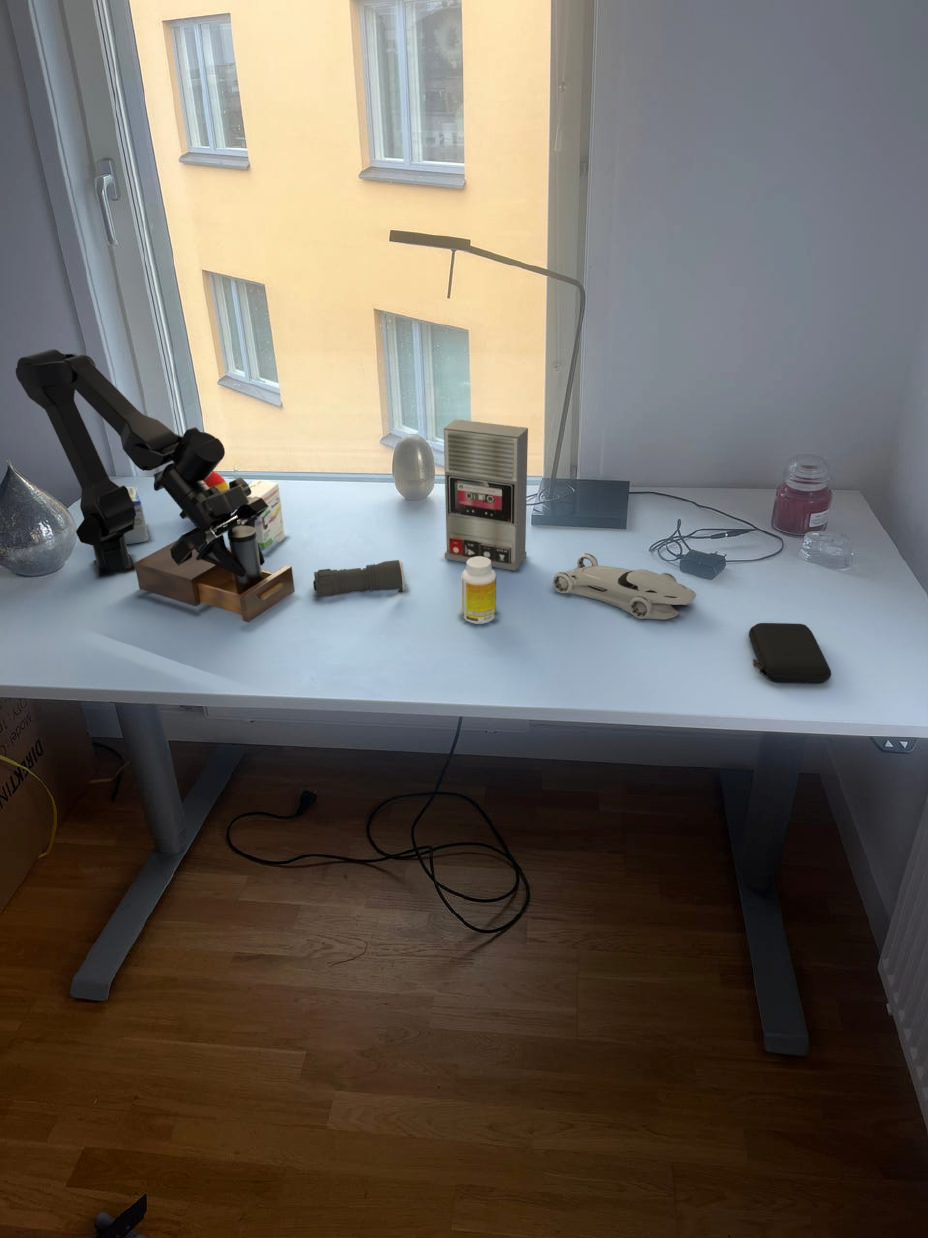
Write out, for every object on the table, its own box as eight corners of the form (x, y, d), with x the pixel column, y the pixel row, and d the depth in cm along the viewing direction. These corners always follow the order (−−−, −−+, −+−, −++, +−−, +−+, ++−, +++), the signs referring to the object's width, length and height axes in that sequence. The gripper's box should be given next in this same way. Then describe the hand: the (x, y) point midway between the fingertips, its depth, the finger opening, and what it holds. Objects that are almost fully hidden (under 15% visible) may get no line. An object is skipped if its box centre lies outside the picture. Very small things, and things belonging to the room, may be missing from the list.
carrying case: (738, 634, 148) (757, 687, 135) (741, 617, 147) (760, 669, 134) (807, 636, 147) (832, 689, 135) (810, 619, 146) (836, 671, 133)
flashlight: (316, 606, 158) (313, 578, 155) (313, 591, 163) (310, 564, 160) (405, 596, 161) (404, 568, 158) (401, 581, 165) (399, 554, 163)
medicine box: (121, 529, 186) (112, 489, 182) (144, 525, 188) (136, 485, 183) (125, 545, 180) (116, 503, 176) (149, 541, 181) (141, 499, 177)
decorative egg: (229, 525, 187) (222, 478, 182) (189, 525, 187) (181, 478, 182) (238, 508, 194) (232, 463, 189) (199, 509, 194) (192, 463, 189)
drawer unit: (141, 596, 162) (133, 562, 159) (190, 568, 171) (184, 536, 168) (197, 613, 157) (190, 579, 153) (244, 583, 166) (239, 550, 162)
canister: (232, 602, 157) (221, 534, 150) (250, 591, 160) (240, 523, 154) (253, 609, 155) (243, 539, 148) (271, 597, 158) (262, 528, 152)
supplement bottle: (502, 620, 153) (502, 564, 148) (471, 628, 151) (470, 572, 146) (486, 605, 157) (486, 551, 152) (456, 613, 155) (455, 558, 150)
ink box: (265, 556, 175) (257, 498, 169) (242, 553, 176) (233, 495, 170) (286, 537, 182) (279, 480, 176) (263, 534, 183) (255, 478, 177)
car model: (578, 566, 170) (579, 541, 167) (705, 602, 157) (708, 576, 155) (546, 590, 162) (547, 564, 159) (677, 630, 149) (680, 603, 147)
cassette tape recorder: (444, 560, 172) (440, 429, 160) (457, 546, 177) (454, 418, 164) (515, 572, 168) (517, 439, 155) (526, 558, 173) (529, 427, 160)
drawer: (189, 609, 157) (183, 578, 154) (237, 579, 166) (232, 550, 163) (252, 629, 151) (247, 597, 148) (298, 597, 160) (295, 567, 157)
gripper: (171, 488, 140) (237, 569, 141) (252, 450, 154) (312, 523, 155) (143, 526, 148) (206, 602, 149) (223, 486, 162) (280, 556, 163)
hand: (253, 569), depth 154 cm, fingers closed on canister, 4 cm apart
